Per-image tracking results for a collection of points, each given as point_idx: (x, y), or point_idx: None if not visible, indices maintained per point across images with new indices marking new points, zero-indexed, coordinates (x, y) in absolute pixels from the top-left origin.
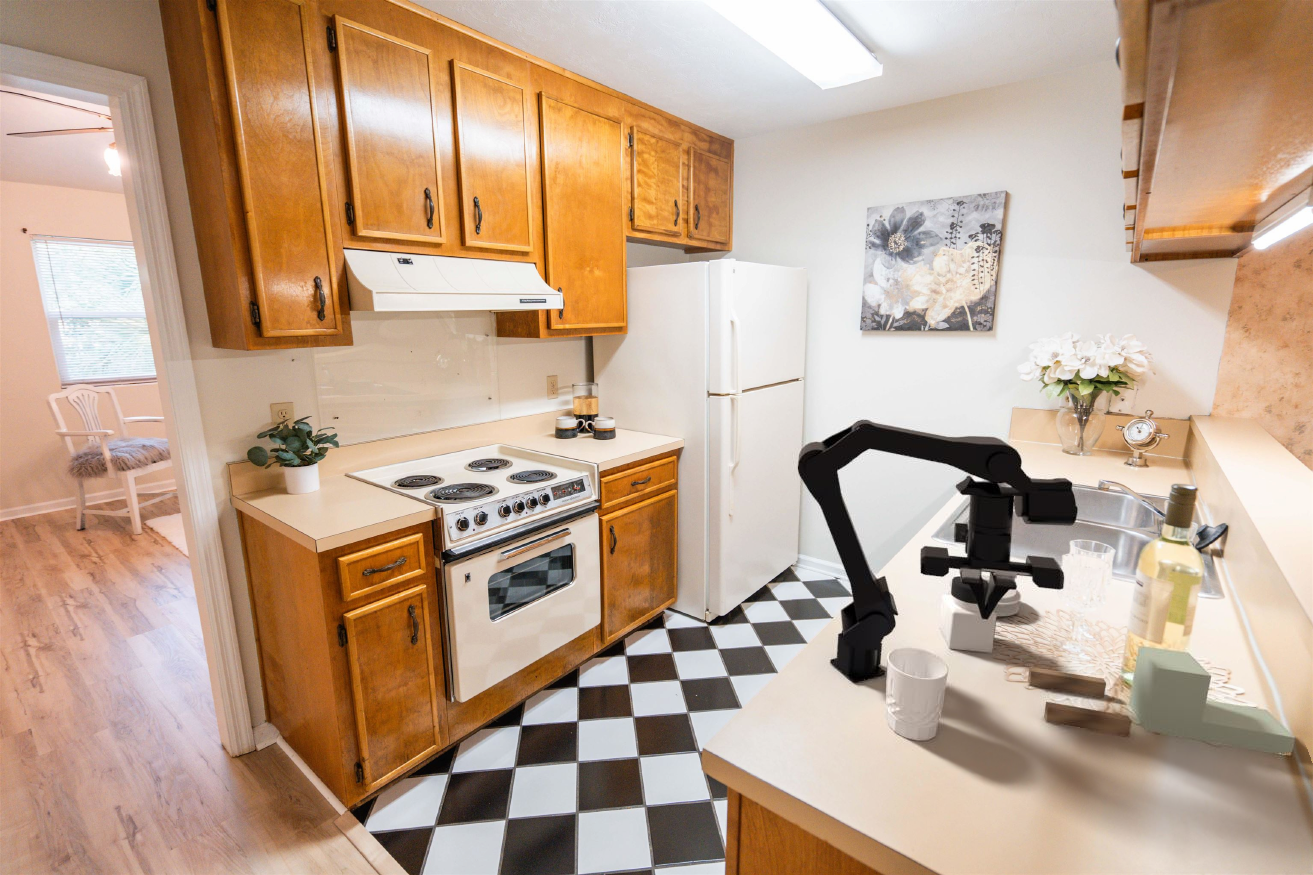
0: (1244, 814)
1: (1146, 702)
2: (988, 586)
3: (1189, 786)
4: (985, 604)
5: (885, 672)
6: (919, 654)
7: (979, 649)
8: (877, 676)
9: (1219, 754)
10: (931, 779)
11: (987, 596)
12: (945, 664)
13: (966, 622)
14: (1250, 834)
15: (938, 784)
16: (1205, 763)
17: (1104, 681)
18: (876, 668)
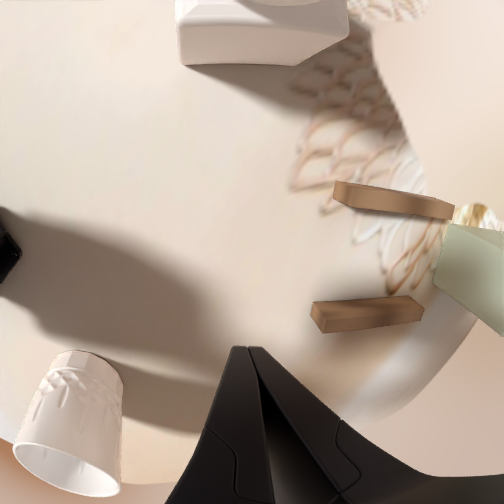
0: (414, 378)
1: (460, 288)
2: (326, 485)
3: (401, 365)
4: (263, 402)
5: (19, 256)
6: (56, 441)
7: (263, 63)
8: (11, 269)
9: None
10: (125, 441)
11: (284, 452)
12: (113, 479)
13: (232, 37)
14: (399, 397)
15: (133, 444)
16: (441, 322)
17: (451, 214)
18: (4, 246)
